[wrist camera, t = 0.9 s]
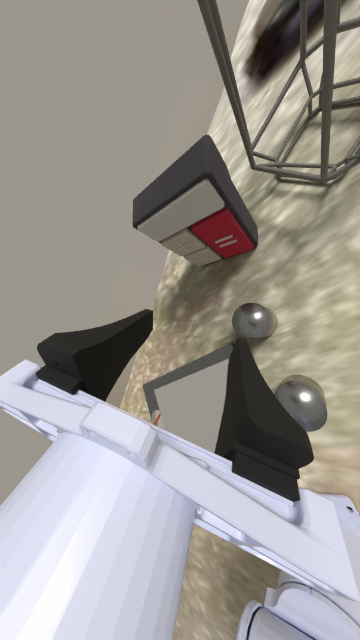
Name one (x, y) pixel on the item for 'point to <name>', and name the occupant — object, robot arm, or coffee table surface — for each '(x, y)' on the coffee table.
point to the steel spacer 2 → (303, 401)
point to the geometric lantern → (325, 91)
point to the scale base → (178, 374)
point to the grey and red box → (196, 208)
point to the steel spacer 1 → (254, 321)
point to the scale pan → (195, 405)
